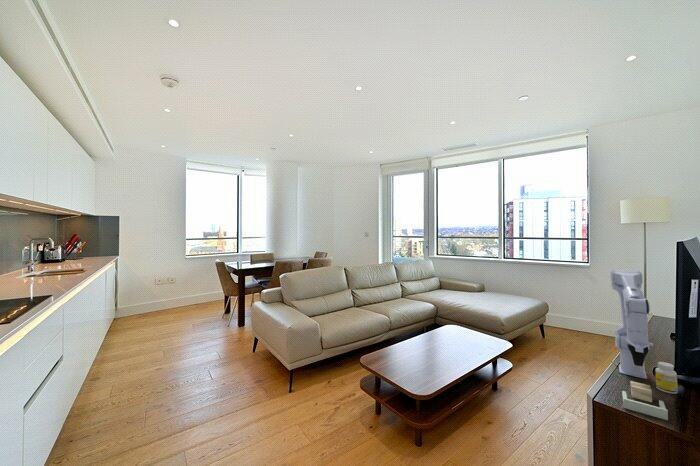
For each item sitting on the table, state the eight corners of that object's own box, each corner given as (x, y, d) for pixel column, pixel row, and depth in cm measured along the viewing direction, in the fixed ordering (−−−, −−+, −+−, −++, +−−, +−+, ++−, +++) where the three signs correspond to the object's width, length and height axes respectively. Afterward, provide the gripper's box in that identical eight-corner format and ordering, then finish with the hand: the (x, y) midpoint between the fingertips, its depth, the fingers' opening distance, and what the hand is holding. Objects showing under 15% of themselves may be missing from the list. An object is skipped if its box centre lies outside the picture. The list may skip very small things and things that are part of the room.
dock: (622, 396, 101) (622, 387, 101) (663, 407, 94) (663, 398, 94) (623, 407, 94) (623, 398, 95) (668, 420, 88) (667, 410, 88)
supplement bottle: (654, 384, 108) (653, 359, 108) (675, 389, 105) (674, 363, 105) (657, 390, 104) (656, 364, 104) (679, 395, 101) (678, 368, 101)
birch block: (630, 391, 104) (630, 380, 104) (650, 396, 101) (649, 385, 101) (631, 397, 100) (631, 386, 101) (652, 402, 97) (651, 391, 97)
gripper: (655, 337, 98) (656, 375, 98) (650, 327, 109) (651, 361, 109) (627, 332, 103) (628, 369, 103) (624, 323, 114) (626, 356, 114)
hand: (638, 365), depth 106 cm, fingers closed
